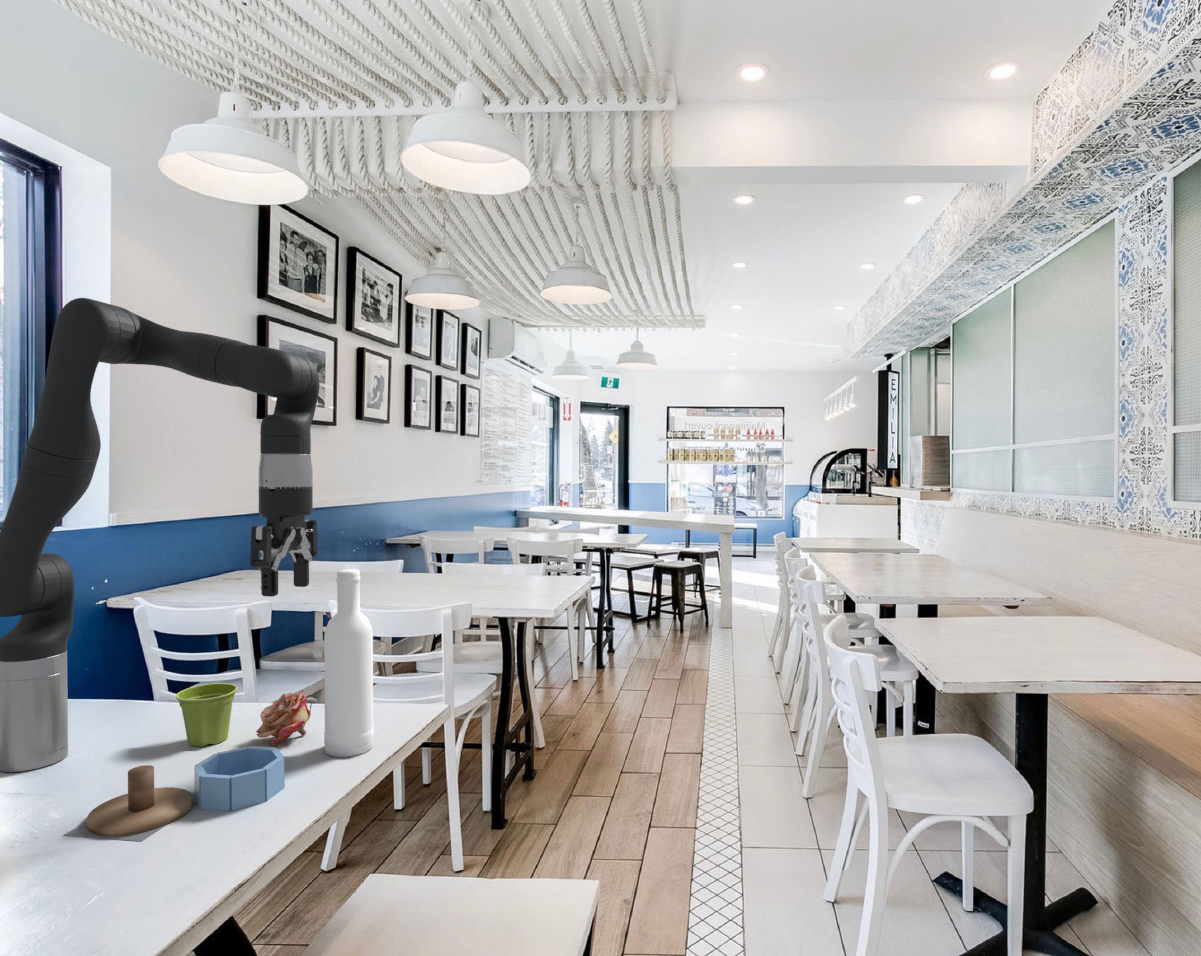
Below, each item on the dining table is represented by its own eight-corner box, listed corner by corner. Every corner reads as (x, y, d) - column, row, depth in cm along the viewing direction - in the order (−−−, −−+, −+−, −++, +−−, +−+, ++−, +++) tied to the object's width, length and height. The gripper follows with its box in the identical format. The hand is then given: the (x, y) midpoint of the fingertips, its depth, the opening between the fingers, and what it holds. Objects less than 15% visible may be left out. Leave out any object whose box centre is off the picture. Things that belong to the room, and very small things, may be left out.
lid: (63, 833, 93) (62, 786, 93) (135, 791, 105) (135, 750, 105) (148, 839, 92) (147, 791, 91) (211, 796, 103) (211, 754, 103)
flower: (309, 714, 135) (281, 684, 132) (335, 715, 129) (307, 683, 126) (270, 758, 128) (239, 727, 125) (296, 761, 122) (265, 728, 119)
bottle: (339, 761, 117) (338, 575, 117) (315, 749, 122) (314, 570, 122) (383, 747, 123) (382, 570, 123) (358, 736, 128) (357, 566, 128)
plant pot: (212, 753, 121) (211, 701, 121) (163, 748, 123) (162, 697, 123) (250, 733, 130) (249, 684, 130) (204, 729, 132) (203, 681, 132)
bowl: (178, 811, 100) (178, 775, 100) (229, 777, 111) (229, 745, 111) (252, 816, 99) (252, 779, 99) (297, 781, 110) (296, 748, 110)
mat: (63, 839, 93) (63, 835, 93) (141, 794, 105) (141, 790, 105) (141, 845, 91) (141, 841, 91) (211, 799, 104) (210, 794, 104)
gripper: (288, 483, 118) (289, 583, 118) (233, 485, 104) (233, 598, 104) (332, 483, 117) (332, 584, 117) (282, 485, 103) (282, 600, 103)
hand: (286, 591), depth 111 cm, fingers open, 8 cm apart
